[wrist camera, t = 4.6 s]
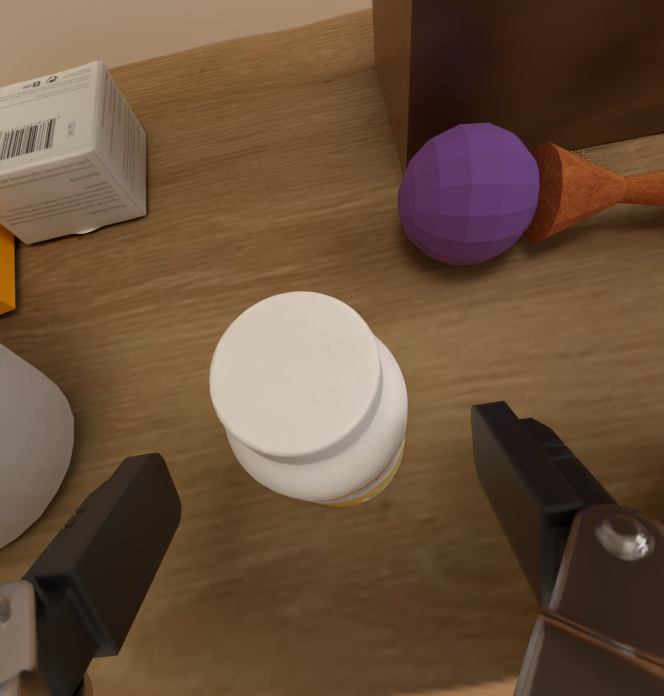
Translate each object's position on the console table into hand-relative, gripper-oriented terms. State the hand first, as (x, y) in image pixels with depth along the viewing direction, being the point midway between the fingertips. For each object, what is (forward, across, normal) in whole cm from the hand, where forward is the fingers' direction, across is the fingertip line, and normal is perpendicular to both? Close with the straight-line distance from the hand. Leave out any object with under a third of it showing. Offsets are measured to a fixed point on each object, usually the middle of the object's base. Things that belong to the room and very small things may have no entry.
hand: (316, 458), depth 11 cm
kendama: (+13, -14, -2) cm, 19 cm away
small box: (+16, +14, -13) cm, 25 cm away
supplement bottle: (+7, 0, +4) cm, 8 cm away
